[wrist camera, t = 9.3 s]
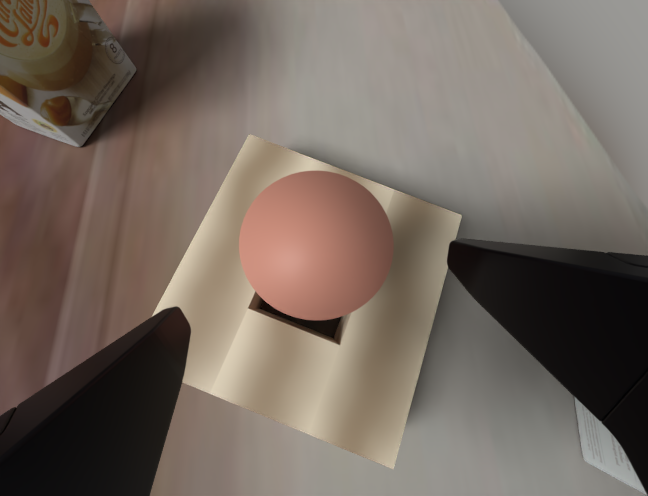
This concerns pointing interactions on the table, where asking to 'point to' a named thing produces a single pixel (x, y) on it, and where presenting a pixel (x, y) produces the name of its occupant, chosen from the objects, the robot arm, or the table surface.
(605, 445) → the supplement box
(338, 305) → the peg
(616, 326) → the robot arm
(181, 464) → the table surface
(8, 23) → the white food box
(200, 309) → the socket board
